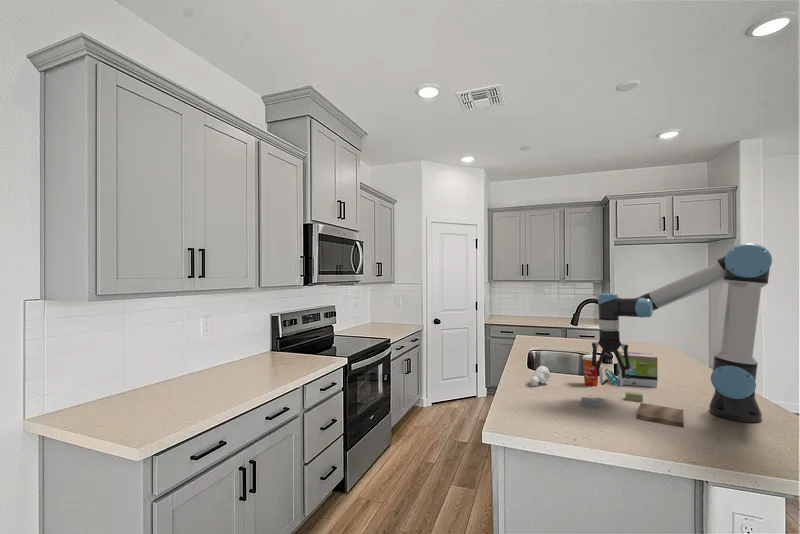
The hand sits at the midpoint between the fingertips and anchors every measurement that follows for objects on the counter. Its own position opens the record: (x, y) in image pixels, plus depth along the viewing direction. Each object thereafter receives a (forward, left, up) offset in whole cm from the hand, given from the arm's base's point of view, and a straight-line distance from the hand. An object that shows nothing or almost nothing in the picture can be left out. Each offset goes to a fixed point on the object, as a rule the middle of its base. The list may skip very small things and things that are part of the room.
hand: (611, 384), depth 164 cm
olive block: (-7, -8, -8) cm, 13 cm away
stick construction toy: (+1, 0, -1) cm, 1 cm away
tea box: (-6, -37, -8) cm, 38 cm away
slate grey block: (+7, +11, -8) cm, 15 cm away
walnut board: (-17, +8, -7) cm, 21 cm away
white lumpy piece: (+33, -8, -8) cm, 34 cm away
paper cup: (+12, -22, -8) cm, 26 cm away
